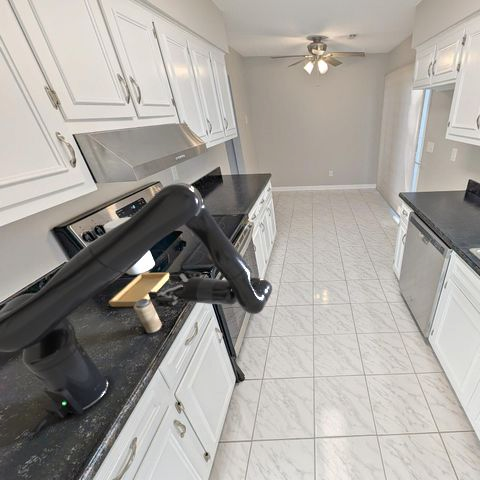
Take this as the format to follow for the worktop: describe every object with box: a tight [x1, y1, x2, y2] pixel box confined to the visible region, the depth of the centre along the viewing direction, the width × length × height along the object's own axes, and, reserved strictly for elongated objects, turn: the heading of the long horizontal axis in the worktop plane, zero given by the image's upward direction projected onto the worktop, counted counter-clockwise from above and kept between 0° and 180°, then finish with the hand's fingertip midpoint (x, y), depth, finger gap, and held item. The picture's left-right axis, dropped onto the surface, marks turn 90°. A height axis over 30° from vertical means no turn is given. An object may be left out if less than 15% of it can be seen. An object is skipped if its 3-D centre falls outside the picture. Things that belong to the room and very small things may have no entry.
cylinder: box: [103, 216, 156, 276], centre depth 122 cm, size 12×12×25 cm
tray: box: [108, 272, 171, 308], centre depth 110 cm, size 20×14×3 cm
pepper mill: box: [133, 299, 163, 334], centre depth 88 cm, size 5×5×12 cm
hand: (160, 285), depth 79 cm, fingers open, 8 cm apart
